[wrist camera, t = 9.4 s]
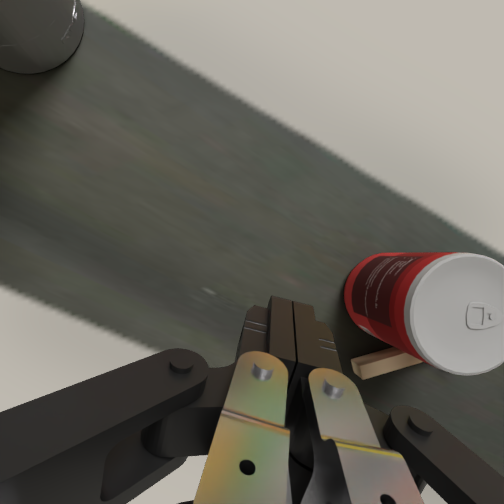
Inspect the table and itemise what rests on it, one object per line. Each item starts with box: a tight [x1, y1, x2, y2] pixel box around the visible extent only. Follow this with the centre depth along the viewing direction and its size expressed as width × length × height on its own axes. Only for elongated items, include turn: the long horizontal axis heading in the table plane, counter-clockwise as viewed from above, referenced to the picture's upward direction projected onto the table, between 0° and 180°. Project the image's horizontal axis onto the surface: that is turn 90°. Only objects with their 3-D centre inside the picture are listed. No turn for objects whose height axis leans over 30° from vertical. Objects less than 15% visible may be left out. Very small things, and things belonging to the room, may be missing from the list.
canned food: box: [344, 252, 504, 375], centre depth 27 cm, size 8×8×11 cm
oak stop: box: [351, 347, 423, 380], centre depth 31 cm, size 11×7×4 cm, turn 103°
